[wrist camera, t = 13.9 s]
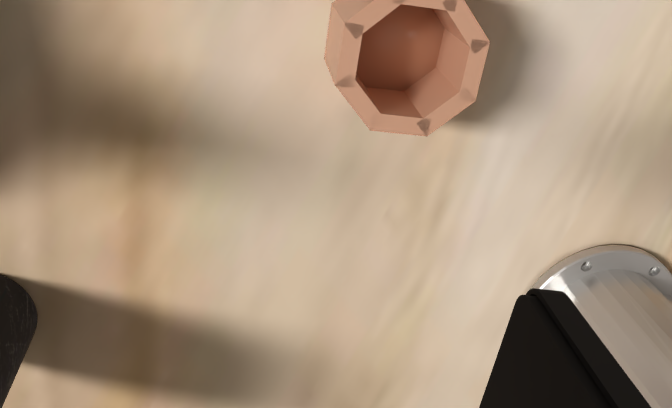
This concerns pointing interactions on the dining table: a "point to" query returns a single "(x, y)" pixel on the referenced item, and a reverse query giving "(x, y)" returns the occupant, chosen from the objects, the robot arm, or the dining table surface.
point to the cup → (406, 61)
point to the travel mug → (14, 331)
